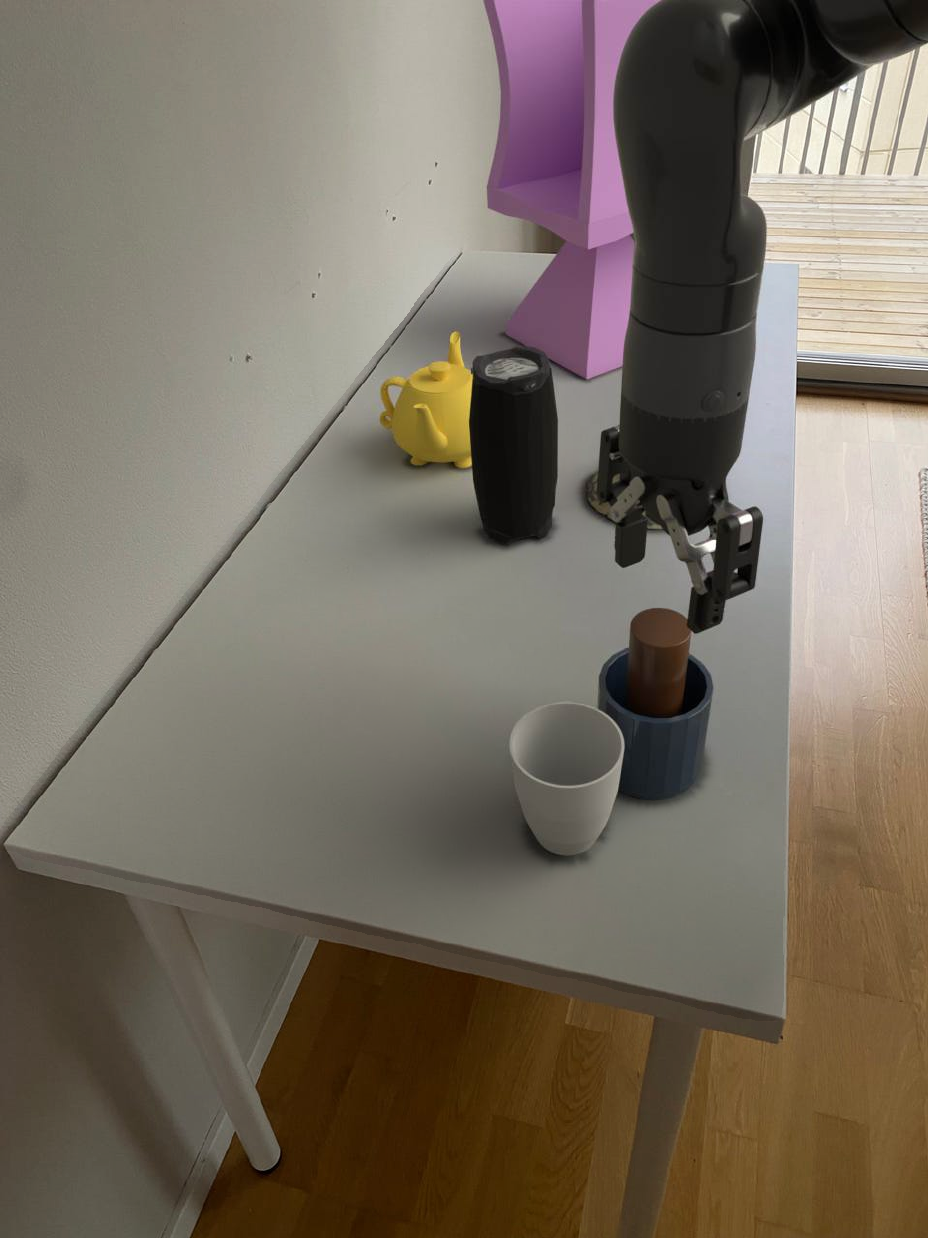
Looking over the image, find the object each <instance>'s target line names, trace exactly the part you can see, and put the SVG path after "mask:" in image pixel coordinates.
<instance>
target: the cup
mask: <svg viewBox="0 0 928 1238" xmlns="http://www.w3.org/2000/svg"><path fill="white" fill-rule="evenodd" d="M509 750H510V751H509V752H510V759H511V765H512V773H513V779H514V780H513V781H514V786H515V791H516V795H517V796H518V800H519V803H520V806H521V810H522V813H523V816H524V819H525V821H526V824H527V825H528V826H529V829H530V830H531V832H532V833H533V835H534V837H535V838H536V841H538V844H540V846H542V847H543V848H544V849H545V850H547V851H548V852H550V853H553V854H556V855H560V856H576V855H579V854H582V853H585V852H587V851H588V850H589V849H590V848H592V847H593V845H595V843H596V842H597V840H598V838H599V837H600V835H601V833H602V832H603V830H604V829H605V827H606V826H607V824H608V821H609V818H610V816H611V813H612V810H613V806H614V803H615V801H616V798H617V795H618V791H619V790H618V787H619V780H620V774H621V767H622V761H623V755H624V738H623V735H622V732H621V730H620V728H619V727H618V725H617V724H616V723H615V722H614V720H613V719H612V718H610V717H609V716H608V715H607V714H605V713H604V712H602V711H600V710H599V709H598V707H597V708H596V707H594V706H592V705H588V704H586V703H581V702H575V701H558V702H557V701H556V702H551V703H547V704H544V705H540V706H537V707H535V708H533V709H532V710H530V711H528V712H527V713H526V714H524V715H523V716H522V717H521V718H520V719H519V720H518V721H517V722H516V724H515V725H514V727H513V728H512V731H511V734H510V737H509Z"/></svg>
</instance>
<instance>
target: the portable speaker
mask: <svg viewBox="0 0 928 1238" xmlns="http://www.w3.org/2000/svg"><path fill="white" fill-rule="evenodd" d="M471 363H472V364H471V365H472V366H471V367H470V372H471V374H473V379H472V391H471V402H470V414H469V431H470V446H471V460H472V465H471V472H472V483H473V489H474V494H475V499H476V503H477V509H478V513H479V520H480V521H481V525H482V529H483V532H484V533H485V534H486V536H487V537H488V539H489V540H492V541H494V542H497V543H499V544H502V545H507V544H509V543H511V542H512V541H513V540H514V541H515V540H518V539H525V538H529V537H534V536H537V537H538V538H539V539H542V538H545V537H547V535H548V534H549V532H550V531H551V529H552V527H553V526H552V525H553V512H554V508H555V507H556V495H557V494H556V493H557V483H558V475H559V474H558V473H559V472H558V471H559V470H558V469H559V465H558V463H559V458H558V455H559V452H558V451H559V417H558V409H557V402H556V392H555V385H554V378H553V377H554V376H553V370H552V367H551V362H550V359H549V358H548V357H547V355H546V354H545V352H543V351H541V350H539V349H537V348H535V347H528V346H526V345H524V346H523V345H516V346H513V347H511V348H507V349H503V350H499V351H495V352H491V353H488V354H484V355H476V356H475V358H474V359H473V360H472V362H471Z"/></svg>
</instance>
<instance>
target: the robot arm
mask: <svg viewBox="0 0 928 1238" xmlns="http://www.w3.org/2000/svg"><path fill="white" fill-rule="evenodd" d="M927 44H928V0H661V1H659V2H658V3H656V4H655V5H653V6H652V7H651V8H649V9H648V10H647V11H646V12H645V13H644V14H643V15H642V16H641V18H640V19H639V20H638V22H637V23H636V24H635V26H634V27H633V29H632V30H631V32H630V34H629V36H628V38H627V41H626V43H625V45H624V48H623V51H622V54H621V57H620V61H619V65H618V69H617V73H616V78H615V85H614V94H613V119H614V130H615V138H616V144H617V150H618V156H619V162H620V167H621V173H622V179H623V184H624V190H625V196H626V202H627V206H628V211H629V215H630V218H631V222H632V227H633V231H634V233H633V236H634V239H633V240H634V251H633V267H632V285H631V303H630V313H629V321H628V326H627V331H626V335H625V341H624V350H623V366H621V368H622V369H621V371H622V372H621V385H620V386H621V387H620V388H621V390H620V391H621V392H620V406H619V422H618V423H619V424H617V425H614V426H612V427H609V428H607V429H603V430H602V431H601V432H600V443H599V454H598V455H599V456H598V466H597V467H598V469H597V471H598V479H597V497H598V499H599V501H600V502H601V503H606V502H608V503H609V505H610V506H611V509H610V514H611V517H612V519H613V520H612V519H611V520H612V521H613V522H614V523H615V525H614V526H615V527H614V528H615V529H614V546H613V547H614V562H615V563H616V564H617V565H618V566H619V567H620V568H622V569H625V568H628V567H630V566H633V565H636V564H638V563H640V562H642V561H643V560H644V559H645V557H646V550H647V549H646V548H647V538H648V537H647V535H648V528H647V525H648V519H647V518H649V519H650V520H651V521H653V522H655V523H657V524H659V525H660V526H661V527H662V528H663V529H662V530H663V531H664V532H665V533H666V534H667V535H668V536H669V537H670V540H671V543H672V546H673V549H674V552H675V556H676V558H677V559H678V560H679V561H680V562H684V563H685V564H686V567H687V570H688V574H689V576H690V580H691V583H692V587H691V588H690V595H689V603H688V604H689V605H688V611H687V613H688V614H687V627H688V628H689V629H690V630H691V633H693V634H694V635H697V634H700V633H702V632H705V631H707V630H709V629H712V628H714V627H716V626H719V625H721V623H722V622H723V620H724V613H725V608H726V601H728V600H731V599H733V598H736V597H738V596H740V595H742V594H746V593H747V592H749V591H752V590H754V589H755V588H756V582H757V573H758V564H759V558H760V550H761V549H760V548H761V541H762V532H763V524H764V515H763V513H762V511H761V509H760V508H759V507H757V506H755V505H754V506H751V507H749V508H745V509H741V508H739V506H736V505H735V504H733V503H731V502H730V501H729V500H730V499H729V493H728V489H727V477H728V475H729V473H730V472H731V469H732V468H733V466H734V465H735V464H736V463H737V460H738V459H739V458H740V454H741V452H742V447H743V440H744V432H745V426H746V421H747V420H746V419H747V413H748V406H749V399H750V392H751V387H752V386H751V385H752V378H753V372H754V367H755V360H756V350H757V316H758V309H759V308H758V307H759V302H760V294H761V289H762V280H763V274H764V267H765V260H766V250H767V238H768V237H767V234H768V224H767V219H766V215H765V213H764V209H763V208H762V207H761V206H760V205H759V203H758V202H757V201H756V200H754V199H753V198H751V197H750V196H748V195H746V194H744V193H742V175H741V174H742V171H741V170H742V167H741V166H742V153H743V152H742V151H743V147H744V141H747V140H748V139H751V138H752V137H755V136H757V135H759V134H761V133H763V132H765V131H767V130H768V129H771V128H772V127H774V126H777V125H778V124H781V122H784V121H785V120H787V119H788V118H790V117H792V116H793V115H795V114H797V113H800V112H801V111H802V110H804V109H806V108H807V107H810V106H811V105H812V104H814V103H816V102H817V101H819V100H821V99H822V98H824V97H826V96H827V95H829V94H831V93H833V92H834V91H836V90H838V89H839V88H840V87H842V86H844V85H845V84H847V83H849V82H850V81H852V80H853V79H855V78H856V77H858V76H860V75H861V74H863V73H864V72H866V71H868V70H869V69H870V68H872V67H874V66H875V65H880V64H883V63H886V62H889V61H891V60H894V59H897V58H899V57H901V56H904V55H906V54H909V53H911V52H913V51H915V50H917V49H919V48H921V47H923V46H925V45H927ZM617 474H620V479H619V481H617V482H614V483H612V482H613V478H614V476H615V475H617ZM642 513H645V516H646V517H647V518H646V517H645V516H644V515H643V514H642ZM707 527H708V530H709V536H708V538H707V539H705V540H703V541H701V542H698V543H695V544H692V542H691V540H690V536H693V535H695V534H697V533H700V532H702V531H704V529H706V528H707ZM709 554H710V557H711V559H712V562H713V569H712V570H710V571H708V572H707V570H706V567H705V563H704V557H705V556H706V555H709ZM735 571H737V572H735Z"/></svg>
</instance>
